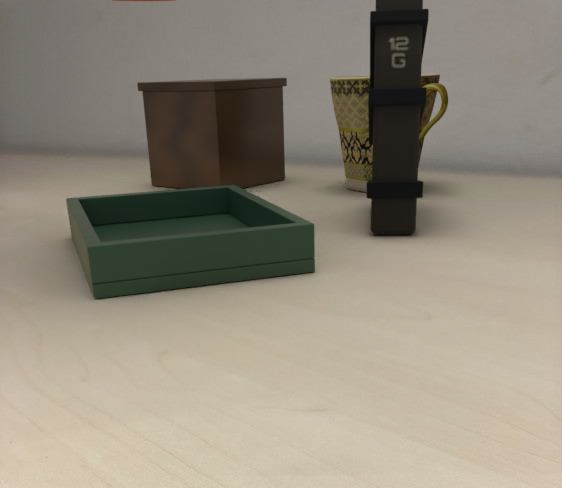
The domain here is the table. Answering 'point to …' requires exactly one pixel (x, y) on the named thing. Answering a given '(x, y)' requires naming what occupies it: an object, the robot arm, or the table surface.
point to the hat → (144, 0)
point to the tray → (185, 239)
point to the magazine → (396, 113)
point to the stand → (215, 132)
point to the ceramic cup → (355, 122)
